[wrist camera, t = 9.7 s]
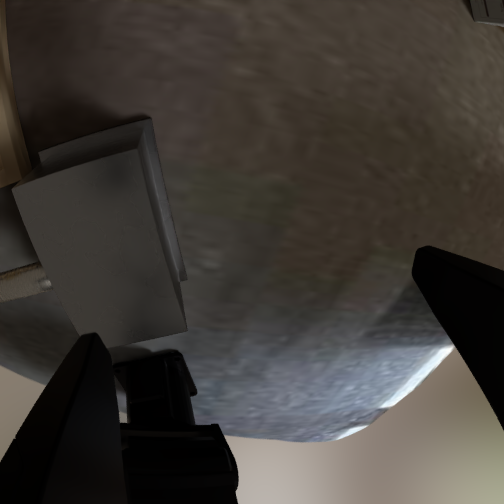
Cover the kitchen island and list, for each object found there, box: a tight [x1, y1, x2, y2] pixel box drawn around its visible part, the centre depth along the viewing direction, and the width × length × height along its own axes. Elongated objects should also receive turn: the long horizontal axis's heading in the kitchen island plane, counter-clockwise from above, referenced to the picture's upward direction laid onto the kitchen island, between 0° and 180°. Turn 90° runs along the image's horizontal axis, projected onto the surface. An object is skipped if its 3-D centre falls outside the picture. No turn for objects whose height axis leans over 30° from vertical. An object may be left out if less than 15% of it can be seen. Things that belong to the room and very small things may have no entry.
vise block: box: [0, 118, 188, 348], centre depth 16 cm, size 11×14×6 cm
